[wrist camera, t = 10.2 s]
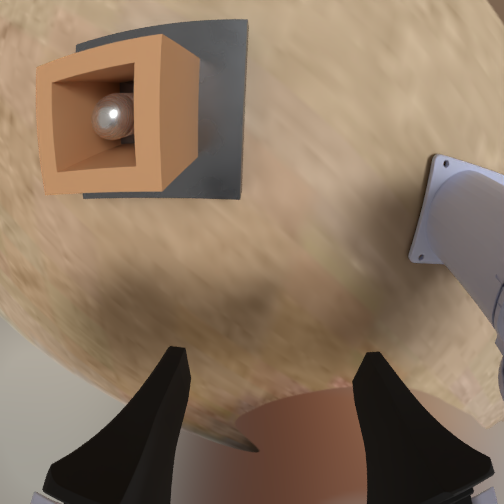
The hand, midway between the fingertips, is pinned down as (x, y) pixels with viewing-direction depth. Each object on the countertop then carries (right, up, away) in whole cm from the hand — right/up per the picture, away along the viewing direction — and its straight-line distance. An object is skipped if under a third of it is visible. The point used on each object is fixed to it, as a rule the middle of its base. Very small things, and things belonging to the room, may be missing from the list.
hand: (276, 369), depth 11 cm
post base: (-6, +13, +4) cm, 15 cm away
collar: (-6, +12, +2) cm, 14 cm away
